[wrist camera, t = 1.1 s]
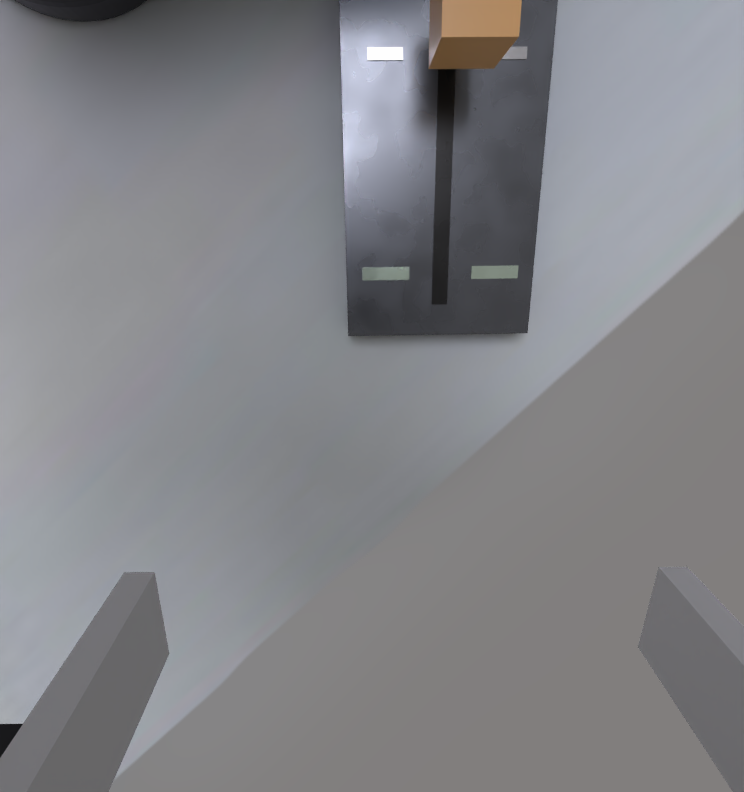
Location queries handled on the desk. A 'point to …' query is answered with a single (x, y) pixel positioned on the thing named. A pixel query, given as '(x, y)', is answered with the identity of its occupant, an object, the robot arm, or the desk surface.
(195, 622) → the desk surface
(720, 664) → the robot arm
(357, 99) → the panel
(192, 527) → the desk surface
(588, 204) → the desk surface
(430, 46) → the dimmer fader
